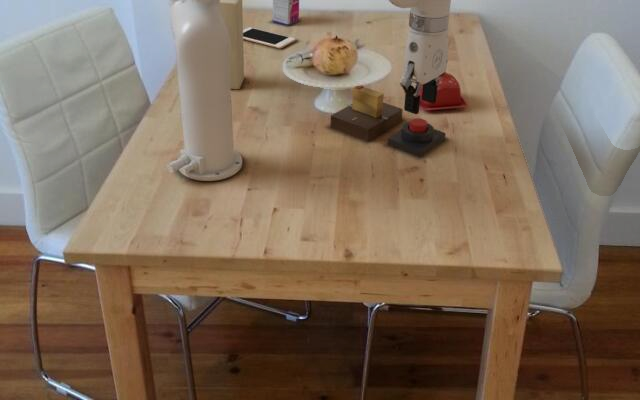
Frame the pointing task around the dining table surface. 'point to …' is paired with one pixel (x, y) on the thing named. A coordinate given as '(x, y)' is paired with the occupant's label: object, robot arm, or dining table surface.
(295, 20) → the supplement box
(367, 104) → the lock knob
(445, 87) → the butter dish
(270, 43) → the cell phone
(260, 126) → the dining table surface
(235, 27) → the toy refrigerator
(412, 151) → the alarm box
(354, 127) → the plate
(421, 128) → the alarm button
